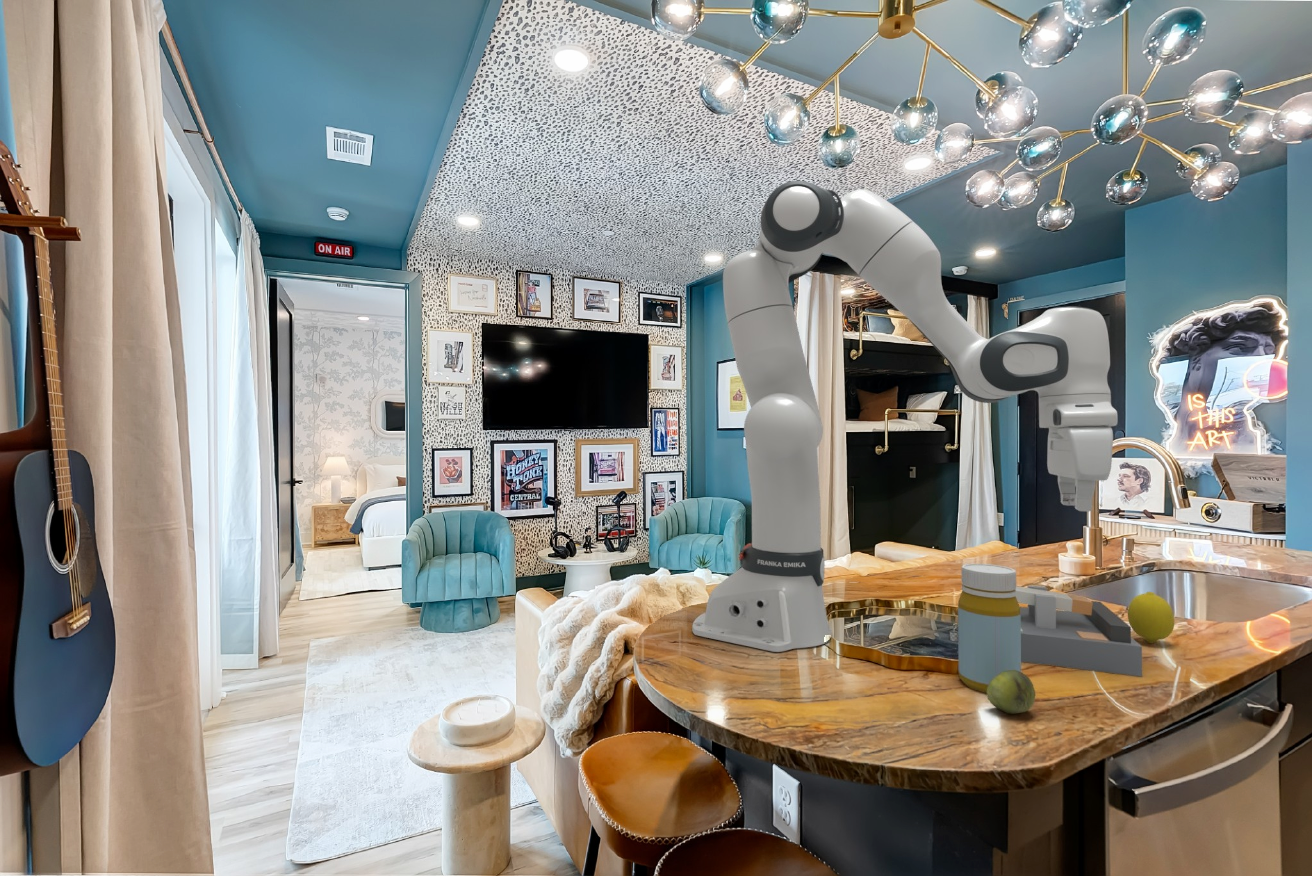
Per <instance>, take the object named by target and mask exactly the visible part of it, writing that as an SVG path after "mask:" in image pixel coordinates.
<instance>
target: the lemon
mask: <svg viewBox="0 0 1312 876" xmlns="http://www.w3.org/2000/svg"><path fill="white" fill-rule="evenodd" d="M1127 621H1128V625H1129V626H1130V627H1131V630H1133V631H1134V633H1135V634H1136V635H1138V636H1139V637H1141V638H1143V639H1144V640H1146V642H1147V643H1149V644H1154V643H1155V642H1157V641H1160V640H1161V641H1162V640H1164V639H1167V638H1168V637H1169V636H1170V635H1171V634H1172V633H1173V630H1174V628H1175V616H1174V611H1173V610H1172V607H1171V605H1170V604H1169V602H1167V601H1166V600H1165V599H1164V598H1163V597H1162V596H1159V595H1157V594H1155V593H1154V592H1152V591H1147V592H1145V593H1141V594H1138V595H1136V596H1135V597H1133V598H1132V599H1131V601H1130V602H1129V605H1128V610H1127Z"/></svg>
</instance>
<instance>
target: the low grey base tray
mask: <svg viewBox="0 0 1312 876" xmlns="http://www.w3.org/2000/svg"><path fill="white" fill-rule="evenodd" d="M1026 588H1032V589H1038V590H1044V591H1048V588H1047V587H1046V586H1043V585H1030V584H1029V585H1028V584H1027V587H1026ZM1090 601H1091V602H1092V603H1093V604H1092V614H1091V615H1085V614H1079V613H1073V612H1070V611H1064V610H1058V609H1056V597H1055V596H1054V595H1042V594H1035V606H1034V605H1028V604H1027V606H1026V607H1025V606H1020V613H1021V663H1028V662H1029V664H1038V665H1044V664H1046V665H1047V666H1052V665H1055V667H1060V668H1061V667H1062V668H1068V667H1069V668H1070V669H1075V670H1076V669H1077V670H1085V671H1094V672H1101V673H1109V674H1116V675H1118V674H1119V675H1123V676H1124V675H1126V676H1133V677H1143V646H1142V645H1141V644H1140V643H1139V642H1137V641H1136V640H1135V639H1134V638H1133V637H1132V628H1131V626H1130V624H1129V623H1126V622H1125V621H1124V620H1123V619H1122V618H1120V616H1118V615H1117V614H1116V613H1115V612H1113V611H1112V610H1111V609H1110V608H1108V606H1106V605H1105V604H1104V603H1102V602H1101V601H1094V600H1090ZM1069 668H1068V669H1069Z"/></svg>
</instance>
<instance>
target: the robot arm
mask: <svg viewBox="0 0 1312 876" xmlns="http://www.w3.org/2000/svg"><path fill="white" fill-rule="evenodd" d="M834 197H835V198H836V200H837V201H836V200H835V198H834ZM822 255H828V256H832V257H835V258H838V259H840V260H842V261H843V262H845V263H847V265H848V266H849V267H850V268H851V269H852V270H853V271H854V272H855V273H856V274H857V275H858V276H859V277H860V278H862V280H864V282H865V283H867V284H868V286H870V287H871V288H872V289H874V291H876V292H877V293H878V294H879V295H880V296H882V298H884V299H885V300H886V301H887V302H889V303H890V304H891V305H892V306H893V307H895V308H896V310H897V311H899V312H900V313H902V315H904V316H905V318H907V319H908V320H909V322H910V323H912V325H913V326H914V327H915V329H917V331H919V333H921V334H922V336H924V338H925V339H927V341H928V342H929V343H930V344H931V345H932V346H933V348H935V349H936V350H937V352H938V353H939V354H940V355H941V356H942V357H943V358H944V359H945V361H946V363H948V365H949V367H950V368H951V369H950V370H951V372H952V374H953V377H954V381H955V382H956V385H957V386H958V388H959V390H960V391H961V392H962V394H964V395H965V396H966V397H967V398H969V399H970V400H973V401H976V402H979V403H984V404H993V403H994V404H995V403H998V402H1001V401H1003V400H1006V399H1007V398H1009V397H1014V396H1017V395H1019V394H1020V395H1021V394H1024V393H1026V392H1028V391H1035V392H1037V394H1038V421H1039V422H1038V425H1039V428H1040V429H1043V428H1044V429H1048V435H1047V451H1046V452H1047V455H1046V456H1047V457H1046V458H1047V459H1046V460H1047V461H1046V464H1047V465H1046V466H1047V470H1048V471H1047V472H1048V473H1049V474H1050V475H1054V476H1057V484H1058V489H1059V493H1060V503H1061V504H1062V505H1063V506H1073V507H1074V508H1075V510H1077V511H1079V512H1092V511H1093V498H1094V495H1095V490H1096V482H1097V481H1099V482H1102V481H1107V480H1108V479H1109V477H1110V474H1111V469H1112V462H1113V459H1112V458H1113V443H1114V433H1113V428H1112V427H1115V426H1117V425H1118V411H1117V410H1116V409H1115V408H1114V407H1113V406H1112V395H1111V394H1112V391H1111V389H1110V386H1109V384H1108V372H1109V370H1110V367H1111V353H1110V352H1111V350H1110V340H1109V333H1108V327H1107V323H1106V320H1105V319H1104V316H1103V315H1102V314H1101V313H1100V312H1099V311H1098V310H1094V309H1092V308H1091V307H1090V308H1089V307H1084V306H1077V305H1075V306H1074V305H1073V306H1070V305H1068V306H1056V307H1053V308H1049V309H1047V310H1045V311H1044V312H1043V313H1042V314H1041V315H1039V316H1037V317H1035V318H1034V319H1033V320H1031V321H1029V322H1027V323H1025V324H1023V325H1020V326H1017V328H1013V329H1010V330H1007V331H1003V332H1001V333H999V334H997V335H994V336H992V337H990V338H989V339H988V338H985V337H983V336H981V335H980V334H979V333H978V332H977V331H976V330H975V328H973V326H971V325H970V324H969V322H968V321H966V319H965V318H964V317H963V316H962V315H961V314H960V313H959V312H958V311H957V310H956V309H955V308H954V307H953V305H951V303H950V302H949V300H948V299H947V297H946V294H945V292H944V289H943V285H942V259H941V253H940V251H939V249H938V247H937V246H936V245H935V243H934V242H933V240H932V239H931V238H930V236H929V235H928V234H927V233H926V232H925V231H924V230H923V229H922V228H921V226H919V225H918V224H917V223H916V222H915V221H914V220H912V219H911V218H910V217H909V216H907V214H905V213H904V212H903V211H902V210H900V209H899V208H897V207H896V206H895V205H894V204H892V203H891V202H890V201H888V200H886V199H885V198H883V197H882V196H881V195H879V194H877V193H875V192H873V191H871V190H869V189H866V188H865V189H864V188H863V189H862V188H860V189H856V190H853V191H850V192H848V193H847V194H845V195H843V196H842V197H840V196H839V195H838V193H837V192H836V191H834V190H832V189H828V188H827V189H826V188H823V187H821V186H818V185H816V184H815V183H812V182H809V181H804V180H791V181H786V182H785V183H782V184H780V185H779V186H778V187H776V188H775V189H774V190H773V191H772V192H771V193H770V195H768V197H767V199H766V201H765V203H764V205H763V207H762V210H761V215H760V229H759V240H758V243H757V244H756V246H755V247H754V248H752V249H750V250H747V251H743V252H740V253H739V254H736V255H735V256H734V257H733V258H731V259H729V261H728V262H727V263H726V264H725V267H724V269H723V272H722V274H723V275H722V288H723V289H722V290H723V302H724V311H725V317H726V322H727V327H728V330H729V335H730V339H731V340H730V341H731V345H732V346H731V347H732V351H733V354H734V359H735V363H736V368H737V371H738V373H739V376H740V380H741V381H742V384H743V388H744V390H745V392H746V395H747V399H748V402H749V405H750V409H749V411H748V412H747V414H746V416H745V420H744V426H743V432H744V434H743V435H744V439H745V449H746V451H745V452H746V453H745V454H746V462H747V463H746V464H747V471H748V473H747V474H748V480H749V481H748V482H749V486H750V487H749V488H750V494H751V495H750V496H751V543H747V544H746V545H744V547H743V549H742V550H740V553H738V556H739V557H738V561H739V562H740V565H741V567H740V568H738V570H736V571H735V572H734V573H732V574H731V575H729V576H728V577H726V578H725V579H724V580H723V581H721V582H720V583H719V584H718V585H716V586H715V587H714V588H713V589H712V590H711V592H710V593H709V596H708V599H707V602H706V610H705V612H703V613H701V614H700V615H699V616H697V617H696V618H695V620H694V621H693V622H692V627H691V629H692V633H693V634H694V635H695V636H698V637H702V638H707V639H708V638H709V639H712V640H718V641H722V642H727V643H732V644H736V645H740V646H745V647H750V648H755V649H760V650H764V651H768V652H774V653H775V652H776V653H780V652H785V651H789V650H792V649H793V650H794V649H801V648H812V647H817V646H821V645H824V644H826V643H825V642H824V637H825V635H832V631H831V629H830V624H829V621H828V616H827V611H826V605H825V597H824V589H823V584H824V581H825V569H826V568H825V566H826V565H825V556H824V549H823V547H822V545H821V544H822V543H821V541H822V540H821V538H822V535H821V533H822V531H821V527H822V526H821V520H822V519H821V518H822V516H821V512H822V511H821V493H820V492H821V491H820V481H819V479H820V477H819V458H818V447H819V446H820V444H821V441H822V438H823V433H824V428H823V422H822V417H821V413H820V410H819V406H818V402H817V398H816V395H815V391H814V387H813V383H812V379H811V376H810V373H809V367H808V363H807V361H806V358H805V354H804V349H803V346H802V341H801V340H802V339H801V338H800V332H799V327H798V324H797V323H798V322H797V319H796V314H795V310H794V307H793V303H792V297H791V294H790V293H791V292H790V287H789V286H790V283H792V282H794V281H796V280H797V279H799V278H801V277H803V276H805V275H806V274H808V273H809V272H811V271H812V270H813V269H814V268H815V267H816V266H817V265H818V263H819V262H820V260H821V258H822ZM832 636H833V635H832Z"/></svg>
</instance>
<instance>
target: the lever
mask: <svg viewBox="0 0 1312 876" xmlns="http://www.w3.org/2000/svg"><path fill="white" fill-rule="evenodd" d="M1035 594H1042V595H1054V596H1055V597H1056V610H1061V611H1070V612H1073V613H1079V614H1085V615H1091V614H1092V604H1093V603H1092V602H1091V601H1092V600H1090V599H1089V598H1088V597H1087V596H1083V595H1077V594H1073V593H1065V592H1064V593H1063V592H1056V591H1049V590H1047V591H1044V590H1038V589H1032V588H1028V587H1024V586H1017V585H1016V598H1017V601H1018V604H1021V605H1022V604H1023V605H1027V606H1028V605H1034V606H1035Z"/></svg>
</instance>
